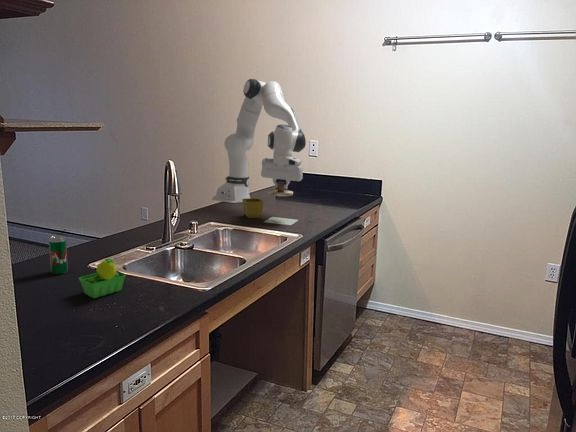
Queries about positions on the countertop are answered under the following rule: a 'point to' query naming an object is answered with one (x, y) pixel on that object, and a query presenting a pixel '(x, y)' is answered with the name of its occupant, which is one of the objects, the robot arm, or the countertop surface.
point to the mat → (281, 221)
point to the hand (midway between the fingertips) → (280, 188)
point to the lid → (280, 191)
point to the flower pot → (253, 207)
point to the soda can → (58, 255)
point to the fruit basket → (103, 280)
